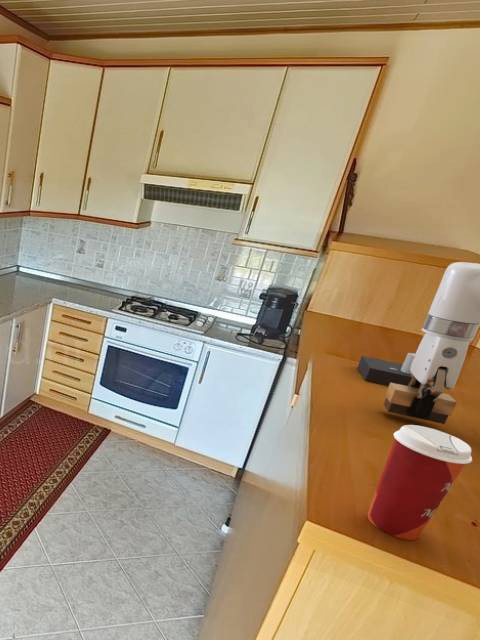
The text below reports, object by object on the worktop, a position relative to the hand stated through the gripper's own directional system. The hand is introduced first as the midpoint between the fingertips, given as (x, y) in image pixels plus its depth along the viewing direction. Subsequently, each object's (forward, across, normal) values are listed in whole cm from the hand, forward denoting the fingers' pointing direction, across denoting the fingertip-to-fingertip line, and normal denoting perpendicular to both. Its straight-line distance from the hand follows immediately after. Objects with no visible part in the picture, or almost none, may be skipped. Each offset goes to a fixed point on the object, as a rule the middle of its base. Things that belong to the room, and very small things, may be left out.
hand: (413, 411), depth 100 cm
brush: (+1, 0, 0) cm, 1 cm away
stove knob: (-1, +26, -4) cm, 27 cm away
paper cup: (+2, -47, +12) cm, 48 cm away
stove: (+2, +28, -1) cm, 28 cm away
